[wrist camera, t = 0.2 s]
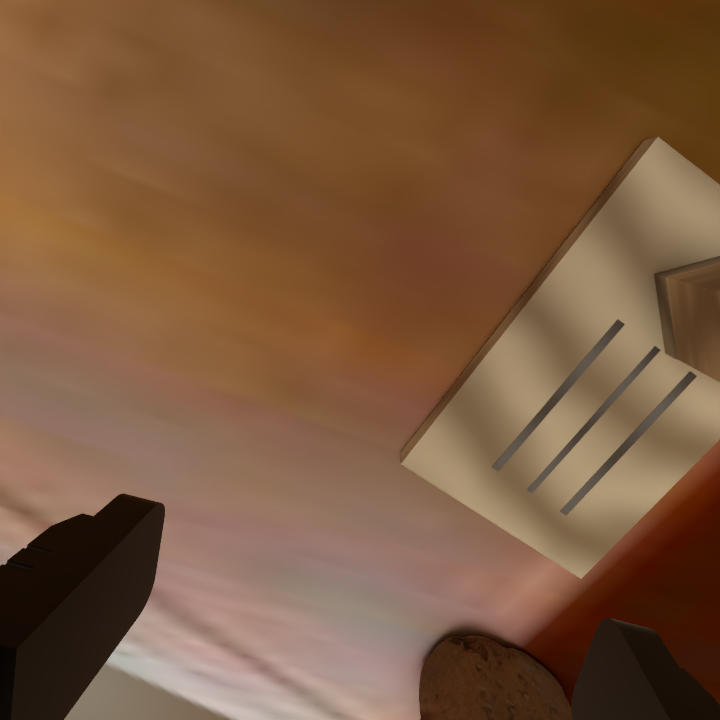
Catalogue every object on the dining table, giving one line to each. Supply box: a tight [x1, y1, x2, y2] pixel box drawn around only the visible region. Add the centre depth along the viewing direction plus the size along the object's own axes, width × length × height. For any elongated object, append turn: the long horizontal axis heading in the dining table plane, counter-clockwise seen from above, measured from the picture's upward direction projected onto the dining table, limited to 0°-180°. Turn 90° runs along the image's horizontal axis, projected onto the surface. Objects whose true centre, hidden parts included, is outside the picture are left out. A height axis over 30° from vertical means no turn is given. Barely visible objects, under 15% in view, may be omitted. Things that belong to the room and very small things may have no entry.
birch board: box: [400, 137, 720, 578], centre depth 30 cm, size 22×14×2 cm, turn 146°
